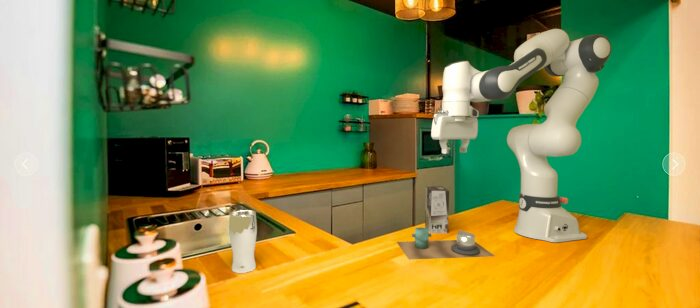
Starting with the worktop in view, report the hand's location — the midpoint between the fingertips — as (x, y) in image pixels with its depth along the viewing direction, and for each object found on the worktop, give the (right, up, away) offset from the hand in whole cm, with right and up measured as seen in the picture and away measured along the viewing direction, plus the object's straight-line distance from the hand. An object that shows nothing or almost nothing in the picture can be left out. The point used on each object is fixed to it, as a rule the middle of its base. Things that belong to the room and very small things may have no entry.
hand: (454, 153), depth 108 cm
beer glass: (-63, -31, -22) cm, 73 cm away
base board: (-7, -30, -11) cm, 32 cm away
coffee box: (-4, -29, +9) cm, 30 cm away
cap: (-1, -28, -12) cm, 31 cm away
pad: (-1, -29, -12) cm, 31 cm away
